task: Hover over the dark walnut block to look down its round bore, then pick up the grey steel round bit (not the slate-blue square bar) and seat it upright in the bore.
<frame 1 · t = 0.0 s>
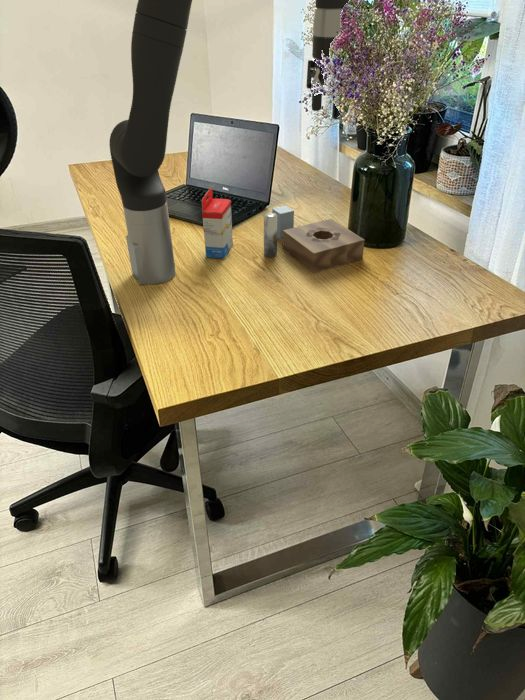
hand: (326, 114, 124), 29 cm above the table, fingers open, 8 cm apart
round bit: (270, 254, 132), on the table
socket block: (321, 253, 132), on the table
square bar: (282, 235, 141), on the table
ink box: (219, 251, 135), on the table
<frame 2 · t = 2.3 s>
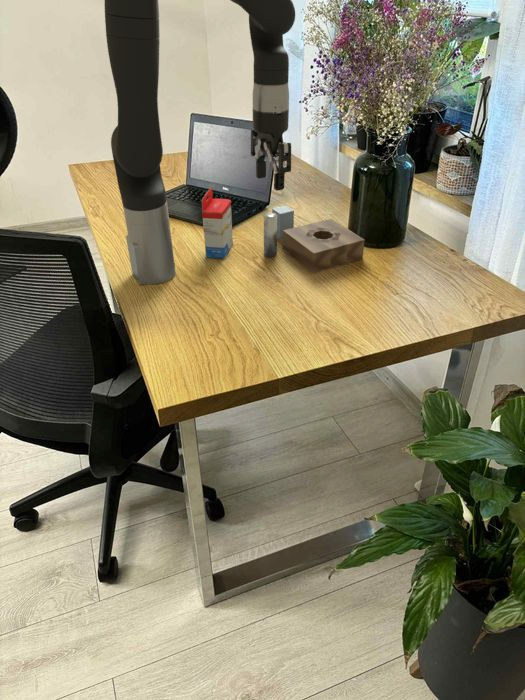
hand: (269, 183, 122), 18 cm above the table, fingers open, 8 cm apart
nothing on the table moved.
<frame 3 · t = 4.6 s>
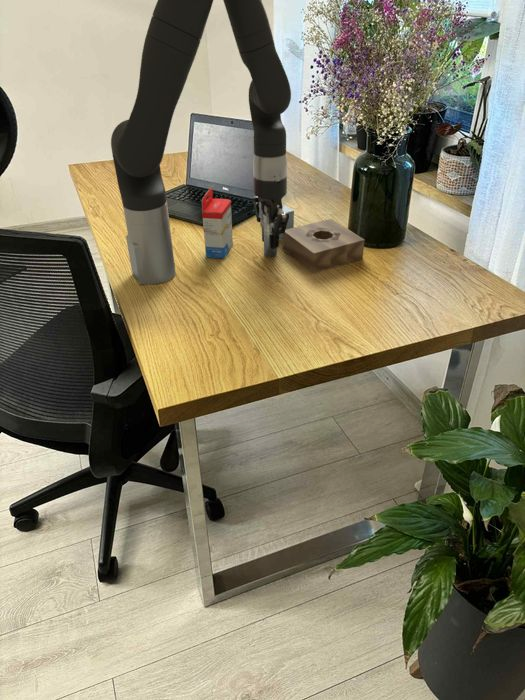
hand: (270, 244, 131), 3 cm above the table, fingers closed on round bit, 3 cm apart
round bit: (270, 254, 133), on the table, touching gripper
everything else where it was.
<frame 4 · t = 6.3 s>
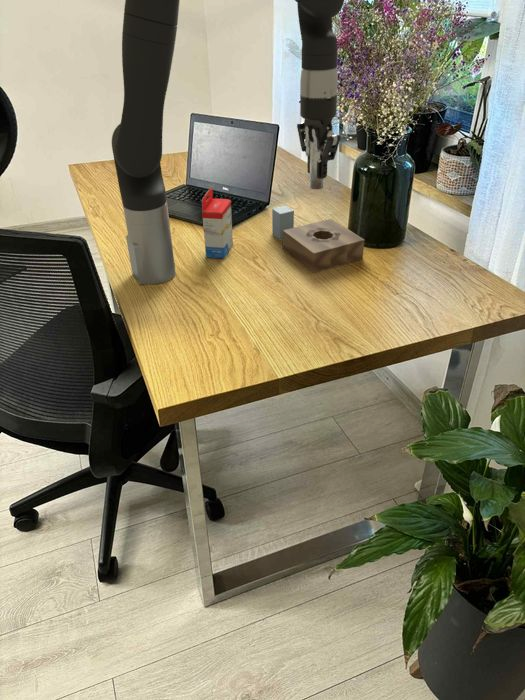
hand: (317, 175, 121), 19 cm above the table, fingers closed on round bit, 3 cm apart
round bit: (316, 186, 123), point 17 cm above the table, touching gripper
everything else where it was.
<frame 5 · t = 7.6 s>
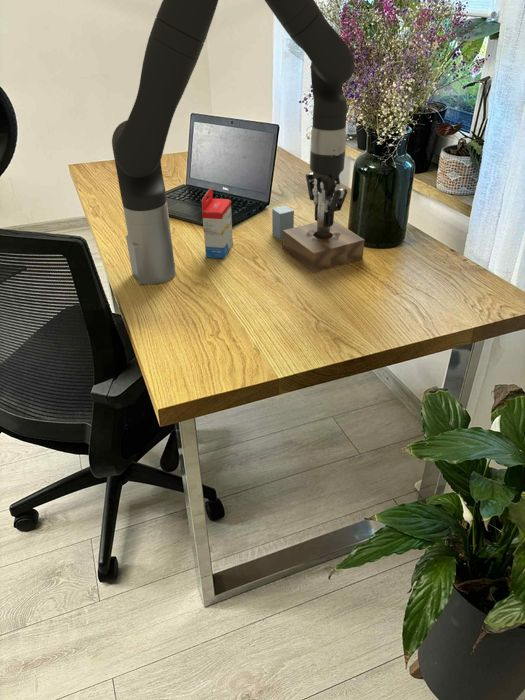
hand: (323, 222, 127), 8 cm above the table, fingers closed on round bit, 3 cm apart
round bit: (323, 233, 129), point 5 cm above the table, touching gripper
everything else where it was.
when the fingers open (5 cm above the table, at t = 8.4 s): round bit drops 2 cm, resting in socket block.
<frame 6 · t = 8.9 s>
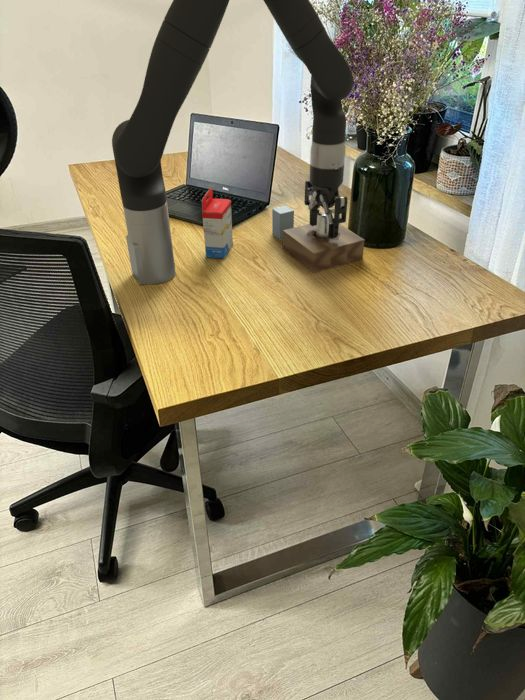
hand: (323, 231, 129), 6 cm above the table, fingers open, 7 cm apart
round bit: (321, 253, 132), resting in socket block
everything else where it was.
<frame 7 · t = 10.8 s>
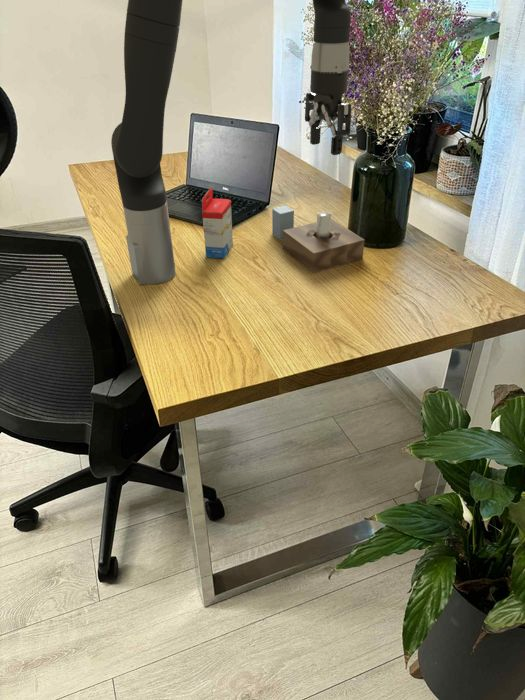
hand: (325, 149, 119), 24 cm above the table, fingers open, 8 cm apart
nothing on the table moved.
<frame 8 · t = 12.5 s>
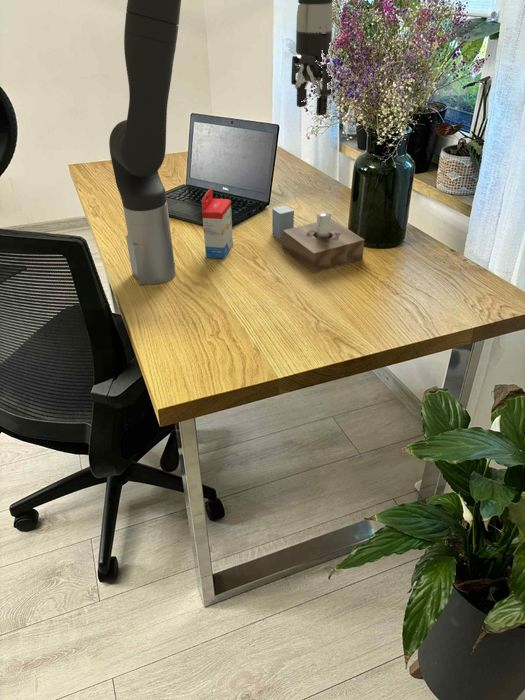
hand: (311, 110, 124), 30 cm above the table, fingers open, 8 cm apart
nothing on the table moved.
at the end: round bit 0.0 cm off-centre on the socket block, point 0.0 cm above the socket block's base; round bit tilted 0°; the gripper is holding nothing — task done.
